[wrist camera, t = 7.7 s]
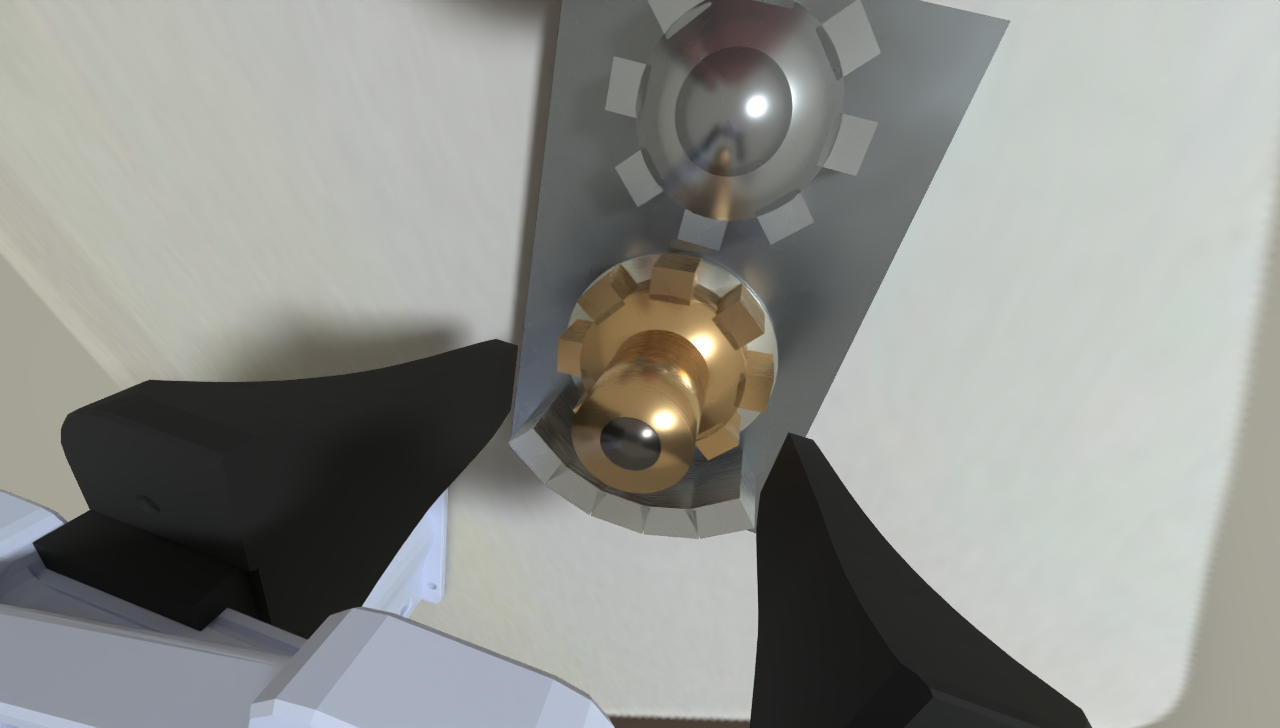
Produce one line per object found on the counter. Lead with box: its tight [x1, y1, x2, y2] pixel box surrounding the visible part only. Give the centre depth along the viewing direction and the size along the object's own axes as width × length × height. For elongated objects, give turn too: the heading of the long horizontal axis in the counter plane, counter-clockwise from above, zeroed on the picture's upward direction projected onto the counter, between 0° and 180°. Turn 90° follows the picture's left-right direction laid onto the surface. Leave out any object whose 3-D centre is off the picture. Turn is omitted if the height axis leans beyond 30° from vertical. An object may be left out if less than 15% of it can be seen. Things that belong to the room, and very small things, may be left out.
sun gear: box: [605, 0, 881, 251], centre depth 11 cm, size 6×6×2 cm
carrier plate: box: [510, 0, 1010, 533], centre depth 15 cm, size 16×10×1 cm, turn 167°
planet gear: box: [557, 252, 774, 493], centre depth 13 cm, size 6×6×5 cm
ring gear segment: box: [508, 392, 756, 539], centre depth 16 cm, size 3×8×2 cm, turn 77°
